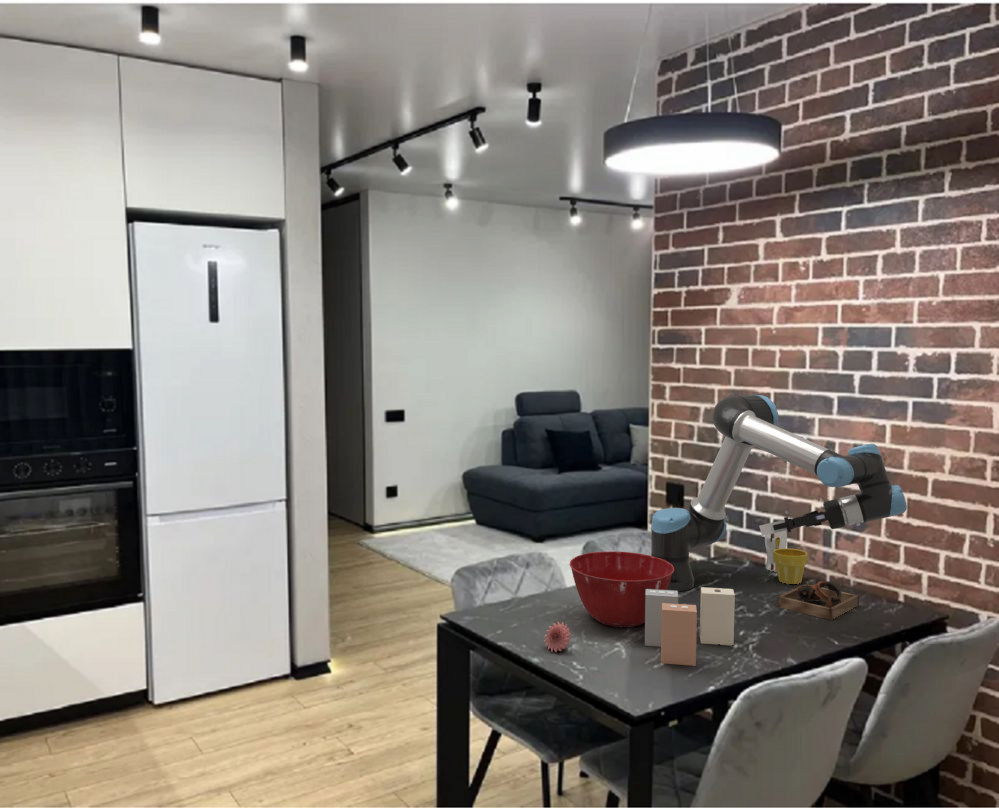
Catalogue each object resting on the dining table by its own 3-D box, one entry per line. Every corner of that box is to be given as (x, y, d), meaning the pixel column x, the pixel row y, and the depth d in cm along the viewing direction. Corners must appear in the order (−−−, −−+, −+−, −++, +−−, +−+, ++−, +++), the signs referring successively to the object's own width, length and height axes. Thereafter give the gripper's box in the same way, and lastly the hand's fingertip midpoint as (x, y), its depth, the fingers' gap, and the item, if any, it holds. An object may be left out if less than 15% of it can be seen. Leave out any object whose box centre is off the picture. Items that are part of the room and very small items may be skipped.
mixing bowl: (692, 618, 223) (693, 563, 222) (635, 646, 203) (636, 586, 201) (608, 596, 243) (609, 545, 241) (548, 619, 222) (548, 564, 221)
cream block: (700, 643, 205) (701, 592, 204) (699, 636, 210) (700, 586, 209) (733, 645, 203) (734, 594, 202) (731, 638, 208) (732, 588, 207)
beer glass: (783, 573, 267) (784, 528, 266) (761, 570, 271) (763, 526, 270) (788, 568, 273) (789, 525, 272) (767, 565, 277) (768, 522, 276)
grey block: (644, 645, 203) (645, 594, 202) (644, 638, 208) (645, 588, 207) (677, 647, 202) (678, 596, 201) (676, 640, 207) (677, 590, 206)
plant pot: (766, 578, 262) (766, 548, 261) (794, 576, 264) (795, 547, 263) (784, 587, 251) (785, 556, 251) (813, 585, 254) (814, 555, 253)
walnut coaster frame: (777, 606, 233) (777, 596, 233) (805, 593, 246) (805, 583, 246) (832, 620, 222) (832, 609, 222) (858, 605, 234) (859, 595, 234)
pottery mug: (826, 601, 240) (839, 581, 236) (835, 625, 232) (849, 605, 228) (788, 591, 239) (800, 571, 235) (796, 615, 231) (808, 594, 227)
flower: (567, 619, 205) (555, 612, 201) (584, 641, 199) (572, 633, 195) (545, 641, 205) (533, 634, 202) (561, 664, 199) (550, 657, 196)
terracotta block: (661, 663, 192) (662, 608, 191) (661, 655, 197) (661, 602, 196) (695, 665, 190) (696, 611, 189) (694, 657, 195) (695, 604, 194)
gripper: (850, 525, 202) (764, 545, 208) (843, 526, 225) (766, 543, 231) (840, 496, 203) (755, 516, 209) (834, 500, 227) (758, 518, 233)
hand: (761, 530), depth 220 cm, fingers open, 13 cm apart
